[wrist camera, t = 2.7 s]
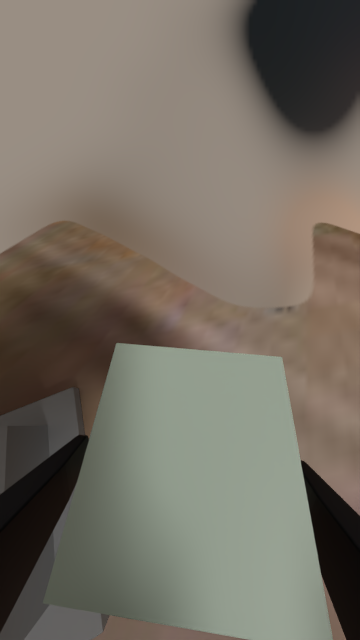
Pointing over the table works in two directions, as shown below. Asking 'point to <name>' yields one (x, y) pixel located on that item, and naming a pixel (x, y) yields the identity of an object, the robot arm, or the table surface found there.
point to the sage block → (193, 501)
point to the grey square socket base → (10, 466)
